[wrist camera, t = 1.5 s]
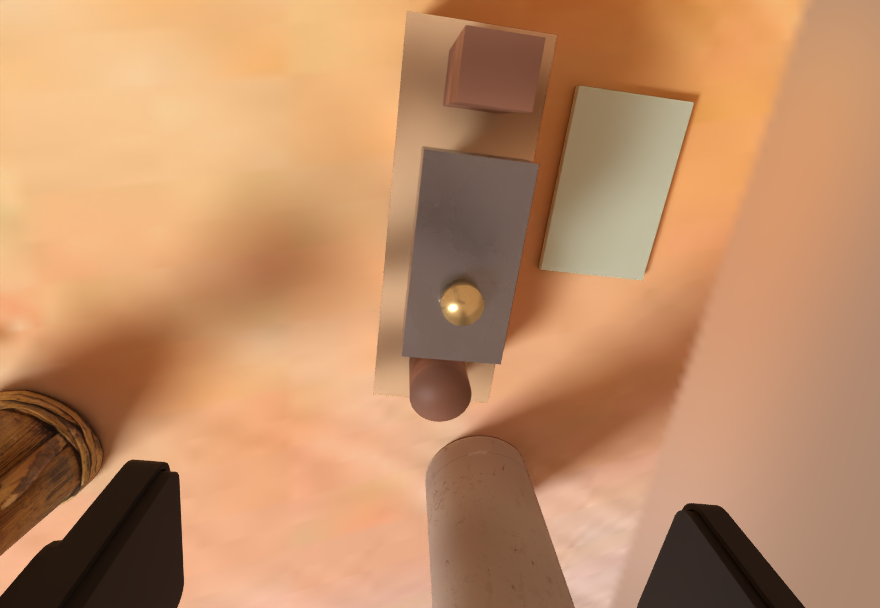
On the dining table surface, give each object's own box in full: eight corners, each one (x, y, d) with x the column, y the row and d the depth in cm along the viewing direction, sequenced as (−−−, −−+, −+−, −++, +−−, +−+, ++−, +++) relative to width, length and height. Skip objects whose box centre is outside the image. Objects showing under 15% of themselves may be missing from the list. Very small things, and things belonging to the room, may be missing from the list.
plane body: (406, 30, 26) (407, -32, 15) (530, 49, 27) (613, 3, 16) (377, 355, 33) (364, 467, 22) (476, 363, 34) (509, 475, 23)
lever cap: (422, 145, 21) (424, 150, 18) (524, 159, 21) (544, 166, 18) (401, 334, 24) (401, 364, 21) (491, 341, 24) (504, 372, 21)
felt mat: (575, 86, 28) (579, 85, 27) (688, 102, 28) (694, 102, 28) (538, 267, 31) (540, 269, 31) (638, 277, 32) (642, 280, 32)
